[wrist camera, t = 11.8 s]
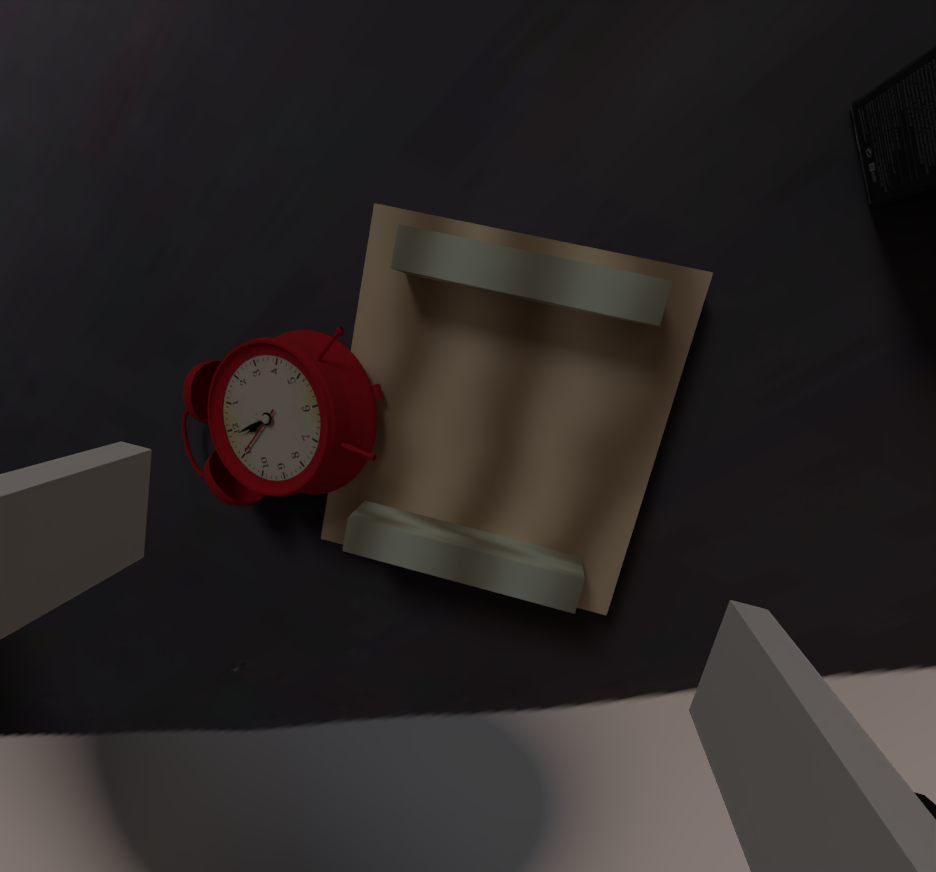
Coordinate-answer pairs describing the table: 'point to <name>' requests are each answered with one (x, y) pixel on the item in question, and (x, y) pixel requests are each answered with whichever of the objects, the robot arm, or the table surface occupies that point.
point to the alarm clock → (283, 417)
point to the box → (899, 132)
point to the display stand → (511, 405)
